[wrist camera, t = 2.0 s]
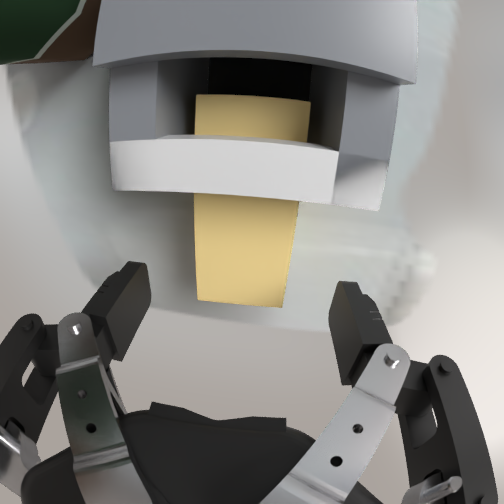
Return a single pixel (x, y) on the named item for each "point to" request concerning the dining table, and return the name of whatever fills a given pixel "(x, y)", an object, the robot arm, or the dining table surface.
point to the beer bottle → (47, 30)
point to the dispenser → (266, 47)
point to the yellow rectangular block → (246, 207)
